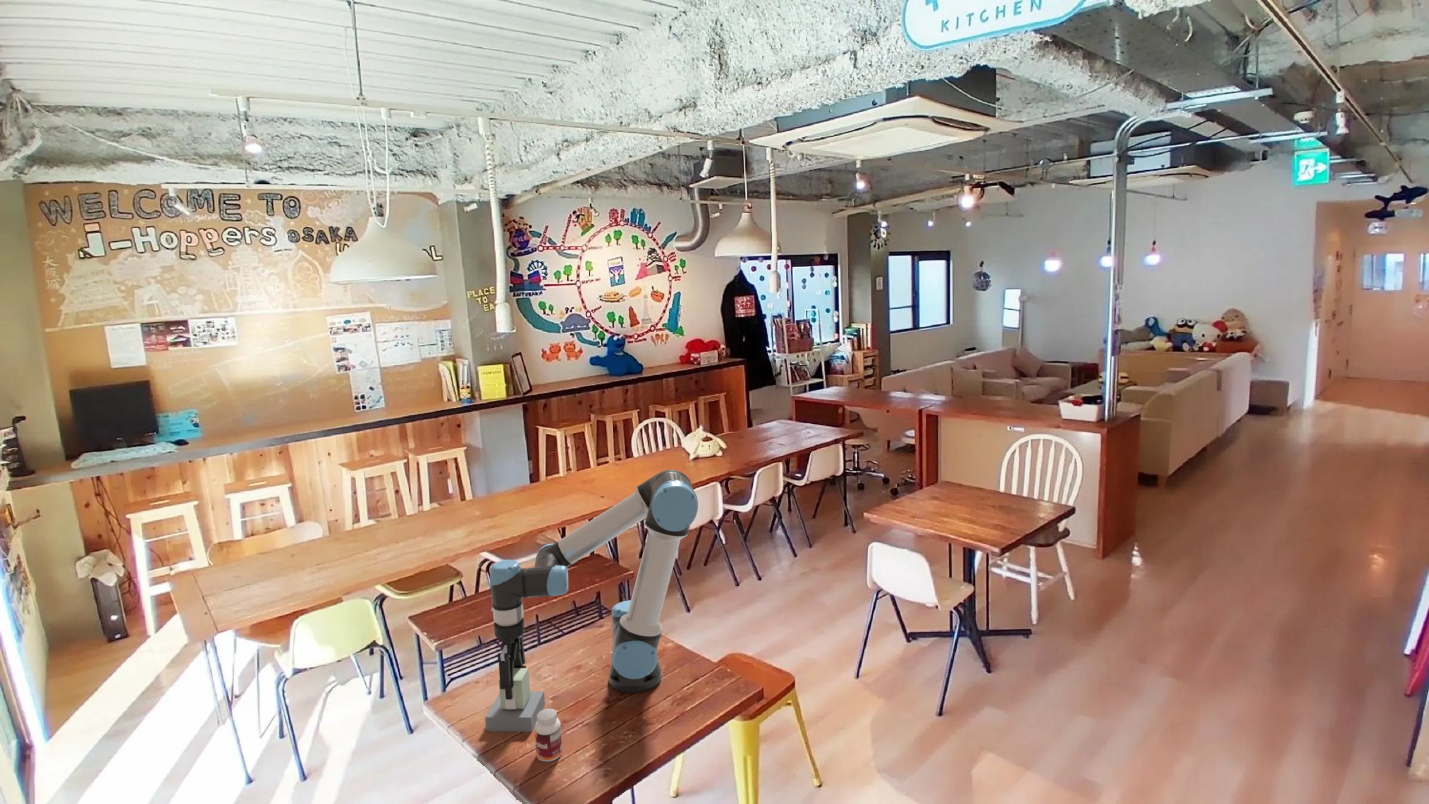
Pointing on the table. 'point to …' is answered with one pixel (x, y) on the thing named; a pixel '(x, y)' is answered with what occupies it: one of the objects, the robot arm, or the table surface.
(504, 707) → the sage block
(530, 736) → the table surface
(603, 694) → the table surface
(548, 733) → the pill bottle
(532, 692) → the slate block
